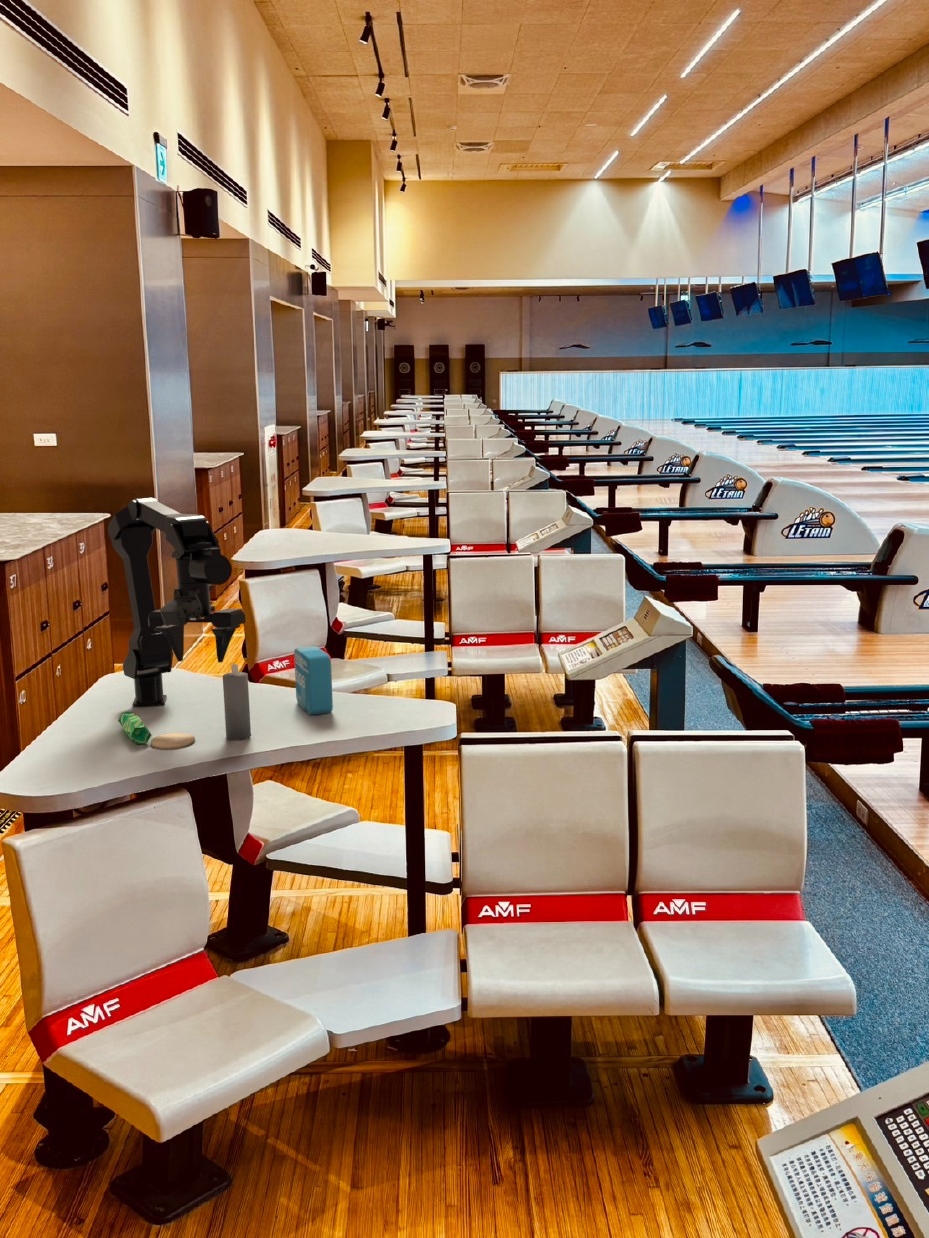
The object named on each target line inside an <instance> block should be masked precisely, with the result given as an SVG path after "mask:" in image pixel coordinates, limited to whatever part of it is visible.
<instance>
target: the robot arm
mask: <svg viewBox="0 0 929 1238" xmlns="http://www.w3.org/2000/svg"><path fill="white" fill-rule="evenodd" d="M156 530H159V531H160V532H162V533H164V534H165V540H166V541H167V542H168V543H169V544H170V545H171V546H172V547H173V549H174V551H173V552H172V554H171V558H172V559H175V565H176V567H175V568H176V576H177V585H178V588H174V591H173V599H172V600H169V601H168V602H167V603H166V604H165V605H164V606H162V607H161V608H159V609H156V603H155V598H154V591H153V586H152V578H151V571H150V567H149V561H148V559H149V558H148V556H149V553H150V550H151V548H152V546H153V543H154V540H153V539H154V537H153V534H154V533H155V531H156ZM107 533H108V536H109V539H110V540H111V545H112V547H113V550H114V551H115V552H116V553H117V554H118V556H119V557H121V559H122V561H123V565H124V566H123V568H124V571H125V578H126V579H125V580H126V584H127V591H128V598H129V603H130V610H131V616H132V623H133V631H132V633H131V636H130V638H129V640H128V653H127V655H126V657H125V660H124V662H123V663H122V670H123V674H124V676H126V677H128V678H131V679H132V680H133V682H134V684H133V685H134V694H135V696H134V700H133V701H132V704H131V705H132V707H144V706H145V707H147V706H163V705H165V704H166V700H167V698H168V697H167V694H164V685H163V674H165V673H168V674H169V673H171V672H172V667H173V666H172V665H173V659H174V656H175V658H176V660H177V662H180V663H181V662H183V661H184V660H183V659H184V652H185V651H184V650H185V649H184V648H185V646H184V644H185V640H184V639H185V626H186V625H187V624H188V623H201V624H202V623H209V624H212V626H213V627H214V628H212V629H211V630H210V631H211V632H212V633H213V635H214V637H215V647H216V650H215V651H216V659H217V662H218V663H223V662H224V659H225V657H226V654H227V651H228V648H229V646H230V642H231V640H232V638H233V636H234V633H235V632H236V629H240V628H241V625H243V624H246V623H247V622H246V620H247V619H246V614H245V612H244V611H243V610H242V608H223V609H221V610H217V611H216V606H215V605H211V596H210V595H211V593H210V592H212V591H214V585H215V586H216V585H217V586H220V585H224V584H225V583H226V582H228V581H229V579H230V578H231V577H232V572H233V567H232V564H231V562H230V560H229V559H228V557H226V556H225V555H223V554H222V552H221V547H220V544H219V543H220V541H219V540H218V538H217V536H216V534H215V533H214V531H213V529H212V527H211V524H210V522H209V521H208V519H207V518H206V517H205V516H204V515H201V514H195V513H194V514H191V513H180V512H179V511H177V510H175V509H173V508H171V507H169V506H166V505H165V504H163V503H161V502H159V501H158V499H156V498H154V497H144V498H133V500H130V501H129V503H128V504H127V506H125V507H124V508H122V509H121V510H120V511H117V512H116V513H115V514H114V515H113V516H112V517H111V520H110V521H109V523H108V526H107Z"/></svg>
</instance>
